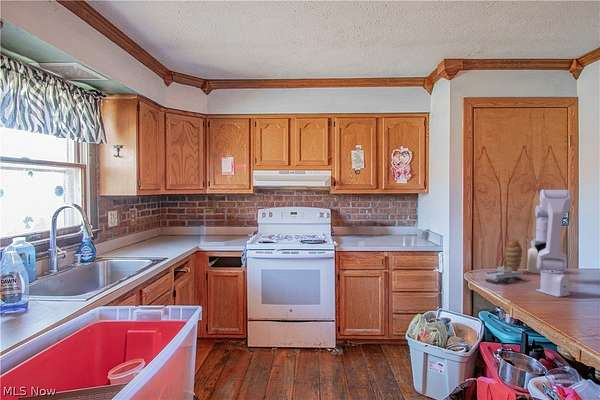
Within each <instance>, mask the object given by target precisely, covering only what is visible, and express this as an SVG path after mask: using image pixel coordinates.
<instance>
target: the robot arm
mask: <svg viewBox="0 0 600 400" xmlns="http://www.w3.org/2000/svg"><path fill="white" fill-rule="evenodd" d="M571 200H572V193H571V191H570V190H569V189H541V190H540V192H539V204H538V205H536V206H535V209H534V214H535V215H534V216H535V218H536V221H535V223H536V224H535V229H536V230H535V238H533V239H532V240H530V246H531V245H534V246H535V247H536V249H537V251H538V257H537V268H538V269H539V270H541V274H540V284H539V285H540V286H539V288H537V289H535V292H538V293H542V294H546V295H549V296H553V297H557V298H560V297H565V296H570V295H571V293H570V278H569V275H567V274H564V273H565V272H567V268H568V262H567V261H568V257H567V255H566V254H565V252H563V251H561V250H560V247H561V246H560V244H561V236H562V227H563V226H562V225H563V217H564V215H565V213H568V212H569V211H570V208H571V202H572V201H571Z"/></svg>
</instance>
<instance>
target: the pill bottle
mask: <svg viewBox="0 0 600 400" xmlns="http://www.w3.org/2000/svg"><path fill="white" fill-rule="evenodd" d="M530 246H531V248H528V250H527V263H526V265H527V268H526V269H527V272H529V273H533V274H540V275H541V270H539V269H538V268H537V257H538V251H537V249H536V247H535V246H534V245H531V244H530Z"/></svg>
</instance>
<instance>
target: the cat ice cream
mask: <svg viewBox="0 0 600 400" xmlns="http://www.w3.org/2000/svg"><path fill="white" fill-rule="evenodd" d="M521 246H522V245H521V244H520V243H519V241H518V239H515V240H514V239H513V238H512V237H511V238H510V240H508V242H507V243H506V247H505V248H504V257H505V259H504V260H505V262H506V264H505V266H506V267H511V269H513V271H515V272H518V270H519V268H520V266H521V262H522V257H523V249H522V247H521Z"/></svg>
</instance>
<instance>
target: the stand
mask: <svg viewBox="0 0 600 400" xmlns="http://www.w3.org/2000/svg"><path fill="white" fill-rule="evenodd" d="M498 281H499V282H503V283H507V284H512V283H514V281H523V277H521V276H515V277H507V278H498V279H495V278H494V279H491V278H485V282H486V283H490V284H493V285H498Z"/></svg>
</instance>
